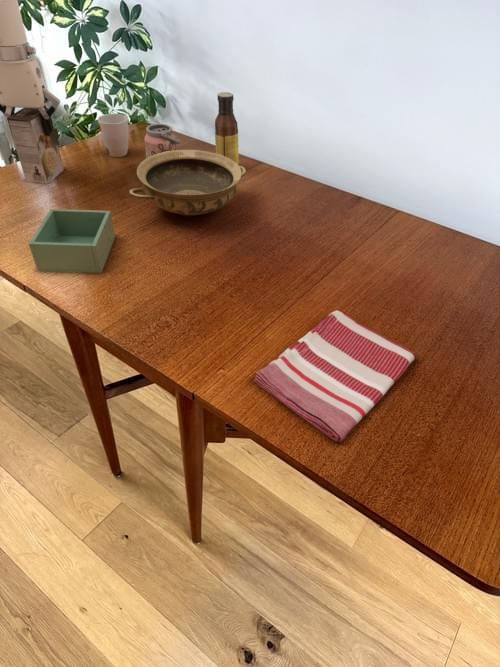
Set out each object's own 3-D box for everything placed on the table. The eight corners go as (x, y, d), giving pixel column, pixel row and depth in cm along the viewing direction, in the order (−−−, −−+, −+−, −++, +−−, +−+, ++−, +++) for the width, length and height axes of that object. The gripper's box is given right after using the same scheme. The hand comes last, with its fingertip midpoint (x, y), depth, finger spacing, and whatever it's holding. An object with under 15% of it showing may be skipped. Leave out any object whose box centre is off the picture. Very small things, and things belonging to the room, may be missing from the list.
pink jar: (174, 163, 132) (171, 120, 124) (186, 175, 127) (184, 130, 119) (143, 169, 129) (138, 124, 120) (154, 181, 123) (150, 135, 115)
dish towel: (250, 383, 73) (251, 372, 72) (334, 315, 87) (337, 304, 85) (338, 447, 66) (342, 436, 64) (416, 361, 79) (421, 350, 77)
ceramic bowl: (154, 248, 100) (149, 206, 93) (115, 201, 115) (108, 162, 108) (269, 216, 113) (272, 177, 106) (221, 177, 127) (221, 140, 120)
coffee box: (42, 167, 127) (26, 105, 116) (64, 170, 126) (50, 107, 115) (25, 182, 120) (5, 117, 109) (48, 185, 119) (31, 120, 108)
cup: (110, 147, 139) (105, 112, 132) (136, 150, 138) (132, 115, 131) (99, 157, 133) (92, 121, 126) (125, 161, 132) (120, 125, 125)
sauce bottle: (240, 167, 132) (242, 92, 119) (235, 176, 128) (236, 99, 114) (218, 164, 133) (218, 89, 120) (212, 173, 129) (211, 96, 115)
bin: (37, 272, 92) (28, 243, 88) (57, 235, 102) (50, 208, 98) (101, 274, 93) (95, 245, 88) (115, 237, 103) (110, 210, 98)
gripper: (56, 50, 106) (73, 129, 119) (-21, 46, 106) (4, 126, 118) (46, 58, 101) (65, 140, 113) (-35, 54, 100) (-8, 137, 112)
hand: (33, 133), depth 115 cm, fingers closed on coffee box, 7 cm apart
